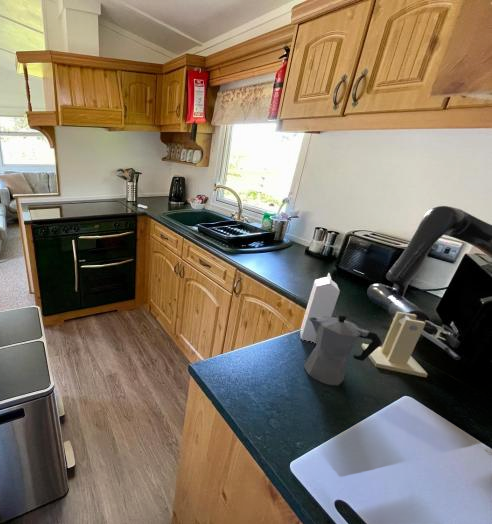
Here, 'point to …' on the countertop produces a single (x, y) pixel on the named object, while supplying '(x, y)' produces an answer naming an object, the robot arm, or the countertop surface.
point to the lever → (436, 341)
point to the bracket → (399, 346)
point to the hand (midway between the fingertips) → (438, 341)
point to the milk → (319, 305)
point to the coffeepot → (335, 348)
